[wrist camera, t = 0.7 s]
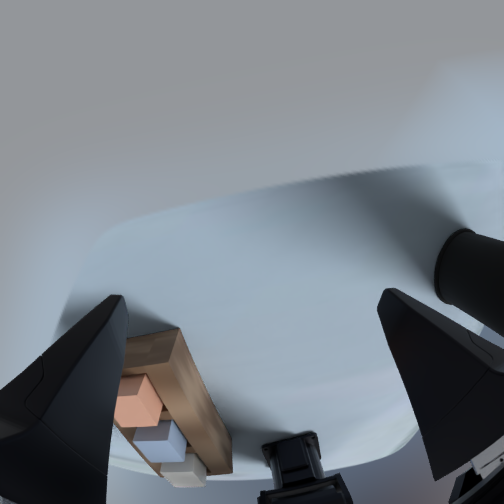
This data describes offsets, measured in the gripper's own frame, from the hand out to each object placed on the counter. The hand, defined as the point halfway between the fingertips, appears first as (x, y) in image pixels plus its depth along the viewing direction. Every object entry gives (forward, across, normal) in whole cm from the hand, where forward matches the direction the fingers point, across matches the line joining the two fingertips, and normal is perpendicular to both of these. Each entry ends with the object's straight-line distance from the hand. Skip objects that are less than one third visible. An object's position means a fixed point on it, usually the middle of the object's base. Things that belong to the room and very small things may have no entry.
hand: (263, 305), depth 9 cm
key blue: (+5, +6, +18) cm, 20 cm away
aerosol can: (+10, -23, +5) cm, 26 cm away
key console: (+8, +6, +19) cm, 21 cm away
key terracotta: (+6, +8, +13) cm, 17 cm away
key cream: (+3, +5, +23) cm, 23 cm away
